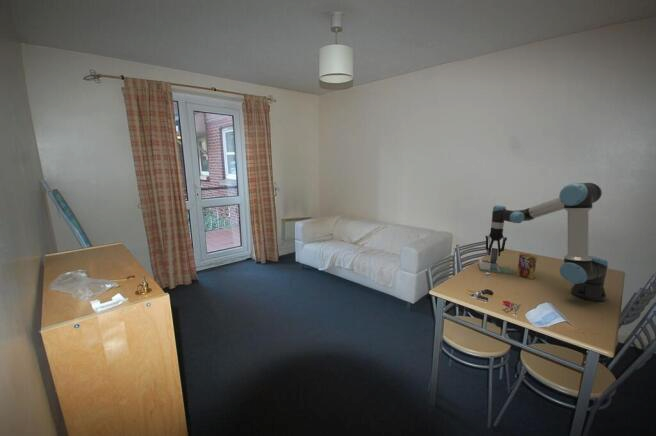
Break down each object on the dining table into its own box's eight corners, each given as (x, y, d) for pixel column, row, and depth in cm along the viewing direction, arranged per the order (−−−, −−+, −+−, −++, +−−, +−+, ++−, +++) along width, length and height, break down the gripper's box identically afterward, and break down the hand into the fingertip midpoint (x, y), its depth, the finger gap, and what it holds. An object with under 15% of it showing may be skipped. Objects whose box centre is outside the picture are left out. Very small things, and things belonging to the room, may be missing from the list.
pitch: (512, 274, 198) (513, 267, 197) (480, 270, 205) (480, 263, 204) (508, 268, 210) (509, 261, 209) (477, 264, 217) (478, 257, 216)
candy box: (534, 278, 192) (537, 255, 190) (532, 279, 190) (535, 257, 187) (518, 274, 199) (521, 252, 196) (516, 275, 197) (519, 253, 194)
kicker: (497, 269, 204) (499, 250, 201) (489, 268, 206) (491, 249, 203) (495, 266, 210) (497, 247, 207) (487, 265, 211) (490, 247, 209)
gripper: (509, 227, 203) (505, 259, 207) (482, 225, 209) (479, 256, 213) (512, 229, 196) (507, 263, 200) (484, 227, 202) (480, 260, 206)
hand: (493, 259), depth 207 cm, fingers closed on kicker, 4 cm apart
